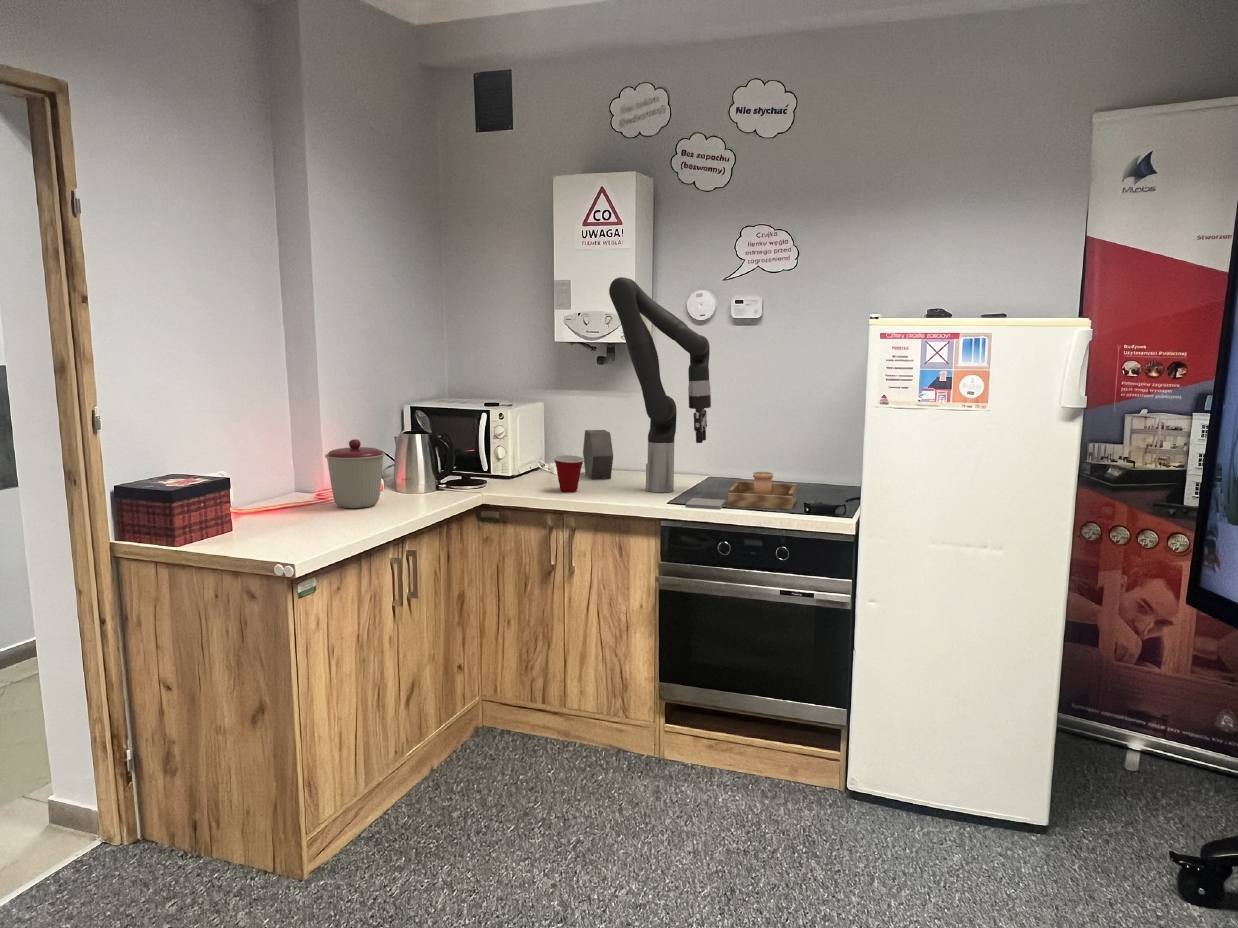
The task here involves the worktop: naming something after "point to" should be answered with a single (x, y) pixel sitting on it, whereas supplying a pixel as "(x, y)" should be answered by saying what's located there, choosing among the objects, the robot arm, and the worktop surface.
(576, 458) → the plastic cup
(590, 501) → the worktop surface
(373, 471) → the canister
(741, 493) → the wooden tray
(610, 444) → the grey hexagonal block
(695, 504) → the slate tile
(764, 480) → the terracotta pot
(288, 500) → the worktop surface
